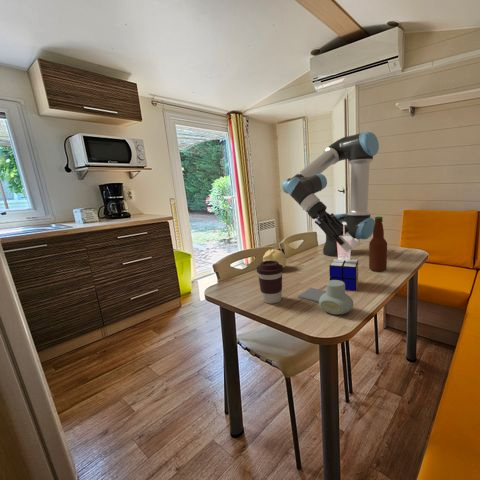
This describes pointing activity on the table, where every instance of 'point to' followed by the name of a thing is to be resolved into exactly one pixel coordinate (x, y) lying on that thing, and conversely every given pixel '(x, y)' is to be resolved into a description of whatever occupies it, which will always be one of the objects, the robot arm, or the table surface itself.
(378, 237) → the bottle
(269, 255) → the sculpture
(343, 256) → the beverage cup
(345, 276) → the puzzle cube
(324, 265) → the table surface
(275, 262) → the coffee cup
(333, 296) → the air freshener
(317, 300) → the slate coaster
